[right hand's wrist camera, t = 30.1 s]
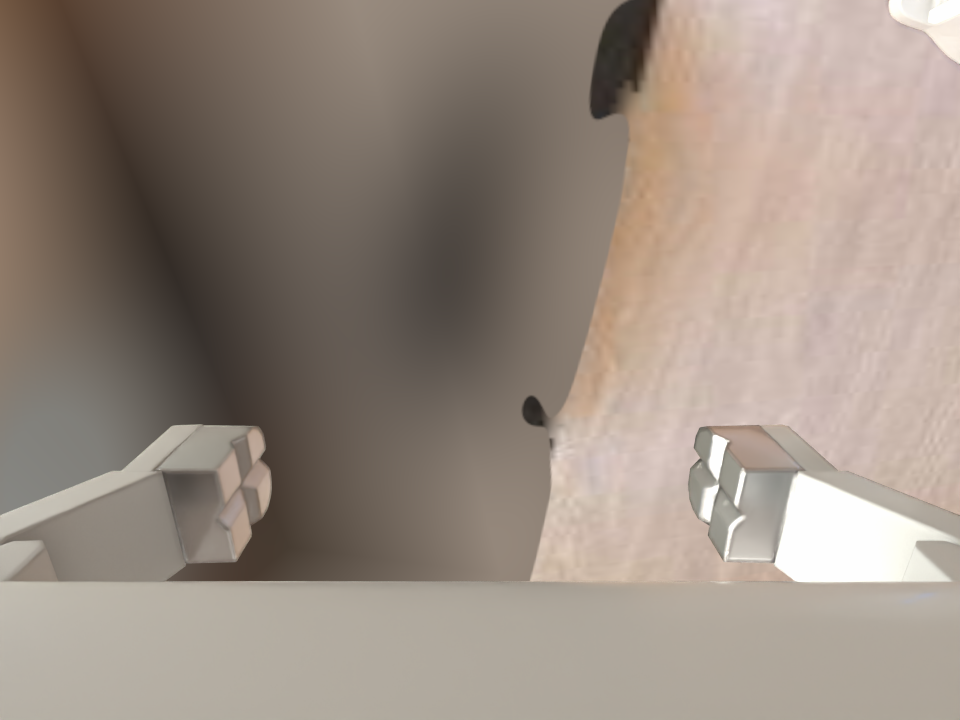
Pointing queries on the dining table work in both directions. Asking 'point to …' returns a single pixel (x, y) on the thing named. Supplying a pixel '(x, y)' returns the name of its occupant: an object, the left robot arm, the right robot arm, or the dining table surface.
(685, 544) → the dining table surface
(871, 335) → the dining table surface
